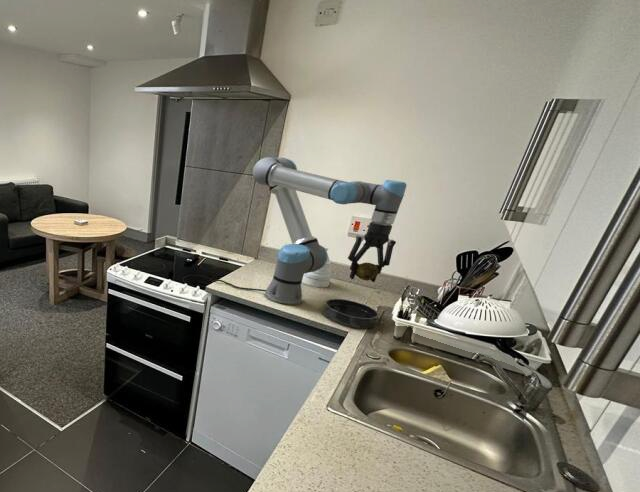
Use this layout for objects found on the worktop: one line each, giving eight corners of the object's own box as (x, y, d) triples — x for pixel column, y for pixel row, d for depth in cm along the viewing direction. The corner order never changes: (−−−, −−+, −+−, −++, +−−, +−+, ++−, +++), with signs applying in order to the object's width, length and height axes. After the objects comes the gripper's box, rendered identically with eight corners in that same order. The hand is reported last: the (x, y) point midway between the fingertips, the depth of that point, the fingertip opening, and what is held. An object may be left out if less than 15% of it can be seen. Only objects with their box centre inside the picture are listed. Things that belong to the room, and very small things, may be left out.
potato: (373, 278, 161) (379, 259, 158) (374, 287, 151) (381, 267, 148) (351, 273, 165) (357, 255, 162) (350, 282, 154) (357, 262, 151)
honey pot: (306, 276, 205) (315, 243, 198) (332, 284, 197) (342, 249, 190) (296, 281, 196) (306, 246, 189) (322, 289, 188) (333, 253, 181)
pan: (328, 324, 151) (331, 313, 149) (318, 305, 168) (320, 295, 167) (382, 333, 148) (386, 322, 146) (366, 312, 165) (369, 303, 163)
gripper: (356, 221, 147) (338, 278, 156) (414, 228, 144) (392, 286, 153) (350, 218, 153) (333, 273, 163) (405, 224, 150) (384, 280, 160)
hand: (361, 279), depth 158 cm, fingers closed on potato, 7 cm apart
